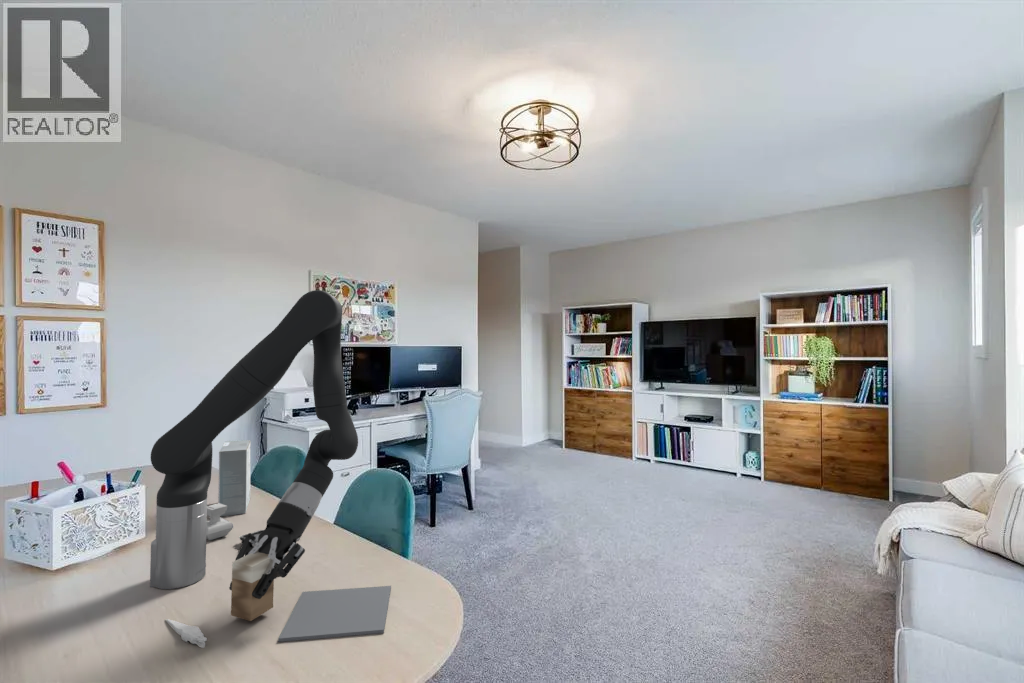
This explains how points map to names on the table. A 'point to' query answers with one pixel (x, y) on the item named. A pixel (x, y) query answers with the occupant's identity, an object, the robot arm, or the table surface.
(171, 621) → the white tapered spike part
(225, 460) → the hard drive box
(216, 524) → the stamp
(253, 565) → the cream and brown block
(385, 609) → the charcoal mat
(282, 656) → the table surface
